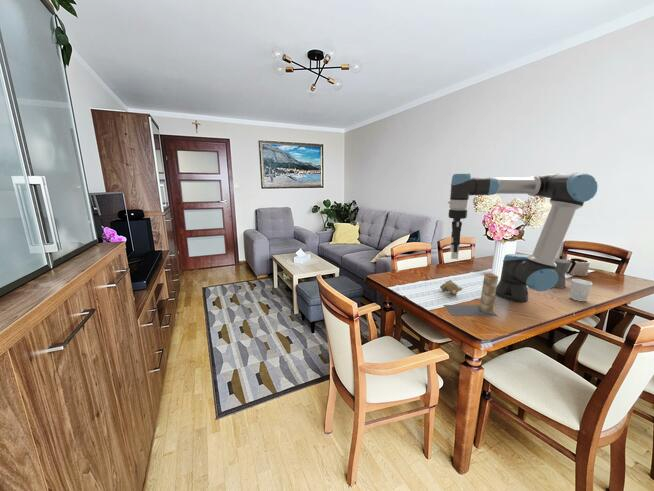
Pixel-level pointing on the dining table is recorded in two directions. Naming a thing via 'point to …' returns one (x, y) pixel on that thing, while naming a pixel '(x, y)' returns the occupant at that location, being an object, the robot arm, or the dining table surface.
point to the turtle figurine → (450, 287)
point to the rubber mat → (467, 310)
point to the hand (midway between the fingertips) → (453, 254)
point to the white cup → (580, 289)
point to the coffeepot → (563, 270)
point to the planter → (579, 267)
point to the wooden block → (488, 292)
